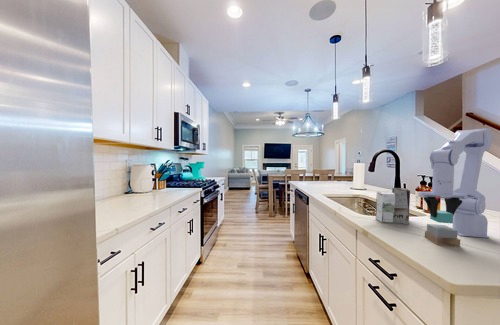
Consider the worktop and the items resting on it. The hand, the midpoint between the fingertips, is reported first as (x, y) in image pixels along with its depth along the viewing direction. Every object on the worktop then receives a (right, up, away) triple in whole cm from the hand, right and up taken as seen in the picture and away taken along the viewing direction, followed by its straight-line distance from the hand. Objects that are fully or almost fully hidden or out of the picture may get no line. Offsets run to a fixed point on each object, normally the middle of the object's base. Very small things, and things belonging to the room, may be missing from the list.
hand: (441, 217), depth 76 cm
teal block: (0, -2, 0) cm, 2 cm away
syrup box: (-5, -9, +24) cm, 26 cm away
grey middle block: (0, -7, 0) cm, 7 cm away
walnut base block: (0, -10, 0) cm, 10 cm away
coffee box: (+3, -9, +24) cm, 26 cm away
